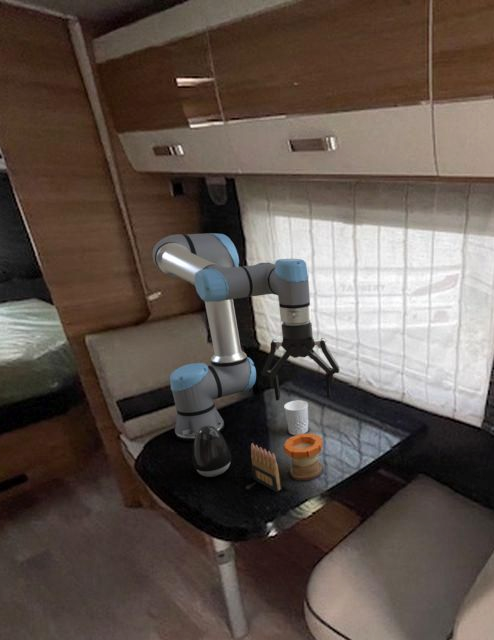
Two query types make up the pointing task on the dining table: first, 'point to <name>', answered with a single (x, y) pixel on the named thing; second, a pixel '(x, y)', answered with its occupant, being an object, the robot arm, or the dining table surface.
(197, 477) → the dining table surface
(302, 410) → the white cup
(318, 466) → the stacking tower
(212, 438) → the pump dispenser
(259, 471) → the ammunition clip
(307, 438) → the orange ring
